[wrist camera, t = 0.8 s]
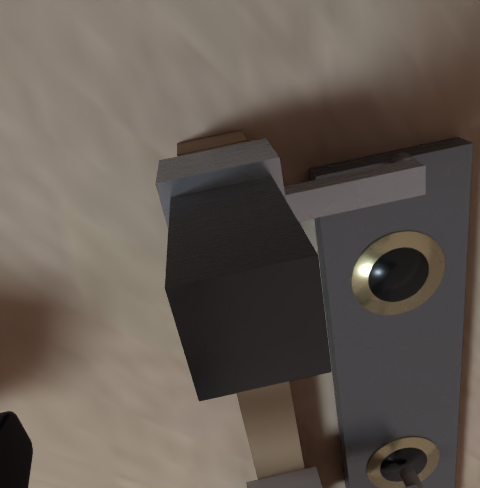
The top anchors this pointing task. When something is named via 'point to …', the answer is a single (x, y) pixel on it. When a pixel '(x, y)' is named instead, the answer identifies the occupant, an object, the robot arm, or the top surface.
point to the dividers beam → (273, 402)
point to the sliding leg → (256, 260)
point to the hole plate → (399, 319)
